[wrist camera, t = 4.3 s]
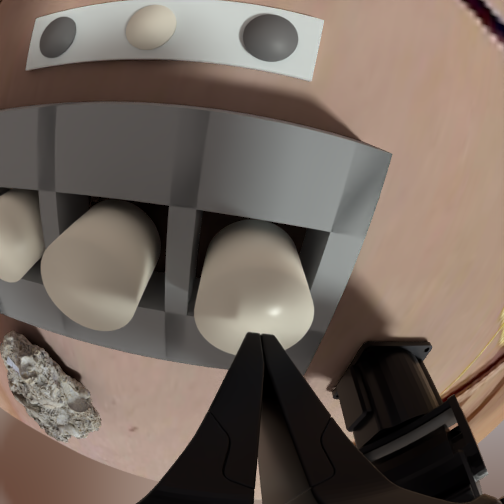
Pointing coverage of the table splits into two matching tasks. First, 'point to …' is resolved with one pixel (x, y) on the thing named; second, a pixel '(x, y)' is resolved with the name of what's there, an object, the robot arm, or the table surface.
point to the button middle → (102, 265)
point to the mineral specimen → (47, 390)
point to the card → (180, 35)
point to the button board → (188, 205)
